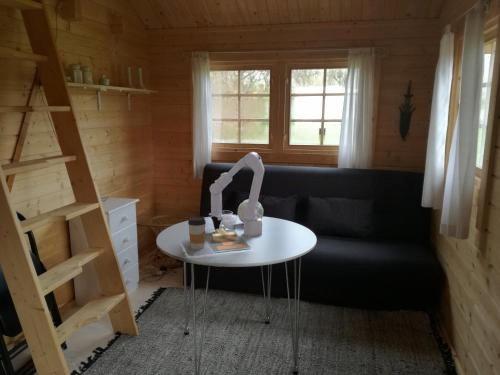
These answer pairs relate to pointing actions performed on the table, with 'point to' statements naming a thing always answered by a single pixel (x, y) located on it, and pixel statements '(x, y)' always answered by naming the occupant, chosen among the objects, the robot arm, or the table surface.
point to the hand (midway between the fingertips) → (216, 229)
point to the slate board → (226, 244)
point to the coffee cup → (197, 232)
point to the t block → (223, 235)
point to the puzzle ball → (243, 207)
